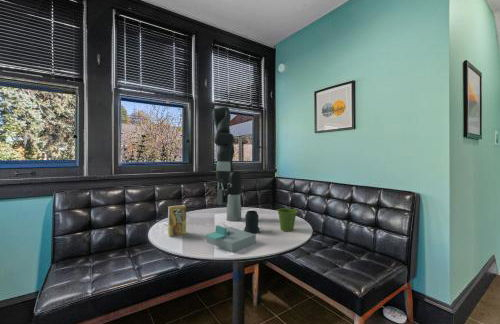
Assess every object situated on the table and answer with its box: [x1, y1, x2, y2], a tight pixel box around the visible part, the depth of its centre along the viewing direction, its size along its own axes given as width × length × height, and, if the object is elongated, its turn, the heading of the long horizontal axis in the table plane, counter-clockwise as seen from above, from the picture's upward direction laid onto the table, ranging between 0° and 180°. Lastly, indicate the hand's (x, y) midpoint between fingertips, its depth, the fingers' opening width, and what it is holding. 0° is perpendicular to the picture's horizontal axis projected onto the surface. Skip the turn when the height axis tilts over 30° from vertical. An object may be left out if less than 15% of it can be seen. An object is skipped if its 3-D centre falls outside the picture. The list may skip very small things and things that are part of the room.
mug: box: [243, 210, 261, 234], centre depth 130 cm, size 12×9×11 cm
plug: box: [216, 189, 228, 206], centre depth 122 cm, size 4×4×10 cm
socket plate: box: [206, 226, 257, 253], centre depth 111 cm, size 16×18×4 cm
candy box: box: [167, 204, 187, 237], centre depth 123 cm, size 9×4×15 cm, turn 119°
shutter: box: [205, 224, 228, 240], centre depth 107 cm, size 7×7×4 cm
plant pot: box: [276, 208, 298, 232], centre depth 132 cm, size 12×12×11 cm
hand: (222, 201), depth 122 cm, fingers closed on plug, 4 cm apart
